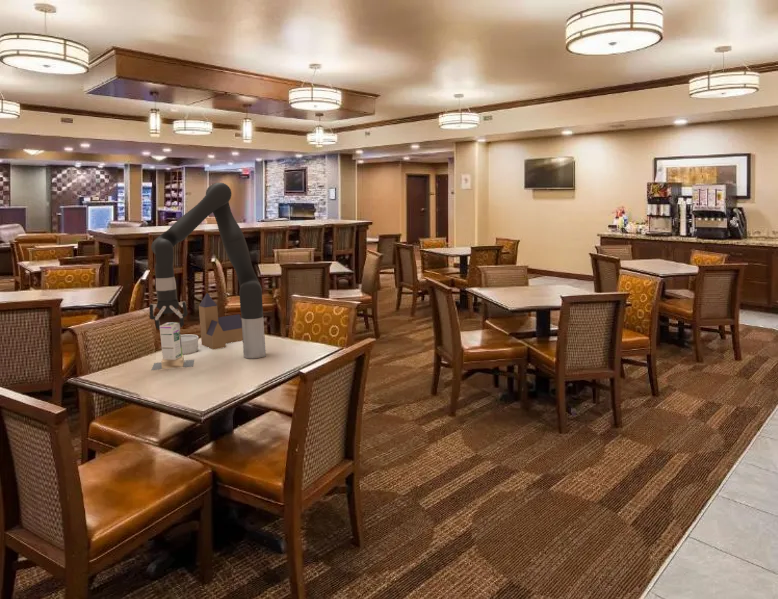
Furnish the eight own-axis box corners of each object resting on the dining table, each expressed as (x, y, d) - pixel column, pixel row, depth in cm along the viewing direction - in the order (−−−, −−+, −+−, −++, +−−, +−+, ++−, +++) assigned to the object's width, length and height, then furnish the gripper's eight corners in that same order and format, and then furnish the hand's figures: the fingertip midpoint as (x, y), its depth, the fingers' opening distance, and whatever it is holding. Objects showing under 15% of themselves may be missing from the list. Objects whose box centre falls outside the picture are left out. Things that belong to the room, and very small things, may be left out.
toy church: (201, 344, 280) (197, 292, 276) (238, 338, 292) (235, 288, 288) (213, 349, 271) (209, 295, 266) (250, 342, 283) (247, 290, 278)
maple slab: (184, 361, 248) (183, 355, 248) (182, 367, 241) (182, 359, 240) (163, 363, 246) (163, 356, 246) (161, 368, 239) (161, 361, 238)
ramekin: (197, 355, 261) (196, 340, 260) (165, 357, 259) (164, 341, 257) (201, 348, 274) (200, 333, 272) (171, 349, 272) (170, 335, 270)
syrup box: (175, 360, 240) (172, 325, 237) (162, 359, 241) (159, 325, 238) (182, 356, 245) (180, 322, 243) (169, 356, 246) (166, 322, 244)
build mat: (194, 360, 252) (194, 359, 252) (193, 368, 241) (193, 366, 241) (154, 364, 248) (154, 362, 247) (151, 371, 237) (151, 370, 237)
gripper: (185, 285, 243) (189, 324, 246) (148, 288, 239) (152, 327, 242) (184, 288, 236) (188, 328, 239) (146, 291, 232) (150, 331, 235)
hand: (170, 327), depth 240 cm, fingers open, 8 cm apart
